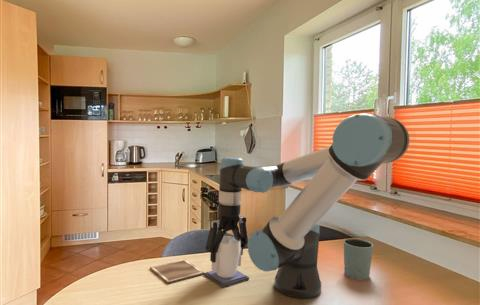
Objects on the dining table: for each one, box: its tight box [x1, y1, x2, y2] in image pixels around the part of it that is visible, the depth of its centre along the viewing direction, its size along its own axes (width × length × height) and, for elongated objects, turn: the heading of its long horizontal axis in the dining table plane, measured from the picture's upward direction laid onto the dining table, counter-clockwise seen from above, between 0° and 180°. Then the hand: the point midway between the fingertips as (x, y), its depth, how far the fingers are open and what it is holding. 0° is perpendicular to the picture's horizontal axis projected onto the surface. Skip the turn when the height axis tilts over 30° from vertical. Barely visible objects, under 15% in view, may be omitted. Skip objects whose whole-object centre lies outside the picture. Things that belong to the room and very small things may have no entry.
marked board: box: [149, 258, 205, 285], centre depth 116 cm, size 14×14×1 cm
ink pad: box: [203, 270, 250, 289], centre depth 114 cm, size 11×11×1 cm
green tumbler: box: [343, 238, 374, 281], centre depth 121 cm, size 10×10×12 cm
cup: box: [217, 235, 241, 278], centre depth 113 cm, size 9×9×12 cm
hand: (226, 267), depth 114 cm, fingers closed on cup, 9 cm apart
